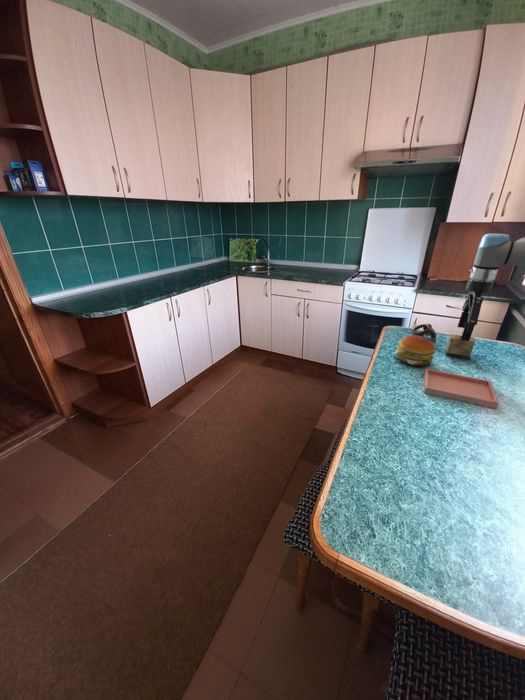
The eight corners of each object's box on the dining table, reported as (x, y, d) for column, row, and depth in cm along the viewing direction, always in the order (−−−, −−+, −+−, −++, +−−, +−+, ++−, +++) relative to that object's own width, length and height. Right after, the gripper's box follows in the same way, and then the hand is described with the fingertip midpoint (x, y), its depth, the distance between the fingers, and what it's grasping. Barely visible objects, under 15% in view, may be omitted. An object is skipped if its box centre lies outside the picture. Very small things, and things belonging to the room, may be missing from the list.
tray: (488, 386, 99) (490, 380, 98) (496, 409, 88) (499, 403, 87) (424, 373, 107) (425, 368, 106) (424, 393, 96) (425, 387, 95)
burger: (430, 372, 107) (437, 348, 103) (391, 363, 114) (396, 340, 109) (433, 357, 118) (439, 334, 113) (397, 349, 124) (402, 328, 119)
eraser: (467, 355, 119) (473, 337, 115) (468, 359, 115) (475, 341, 112) (445, 351, 122) (450, 333, 118) (445, 355, 119) (451, 338, 115)
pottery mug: (436, 347, 127) (429, 331, 124) (413, 350, 134) (407, 335, 131) (441, 331, 134) (435, 317, 131) (419, 335, 141) (413, 321, 138)
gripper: (465, 271, 116) (449, 321, 126) (473, 286, 96) (454, 344, 106) (487, 273, 113) (470, 324, 123) (500, 289, 93) (479, 348, 103)
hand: (462, 333), depth 114 cm, fingers open, 13 cm apart
